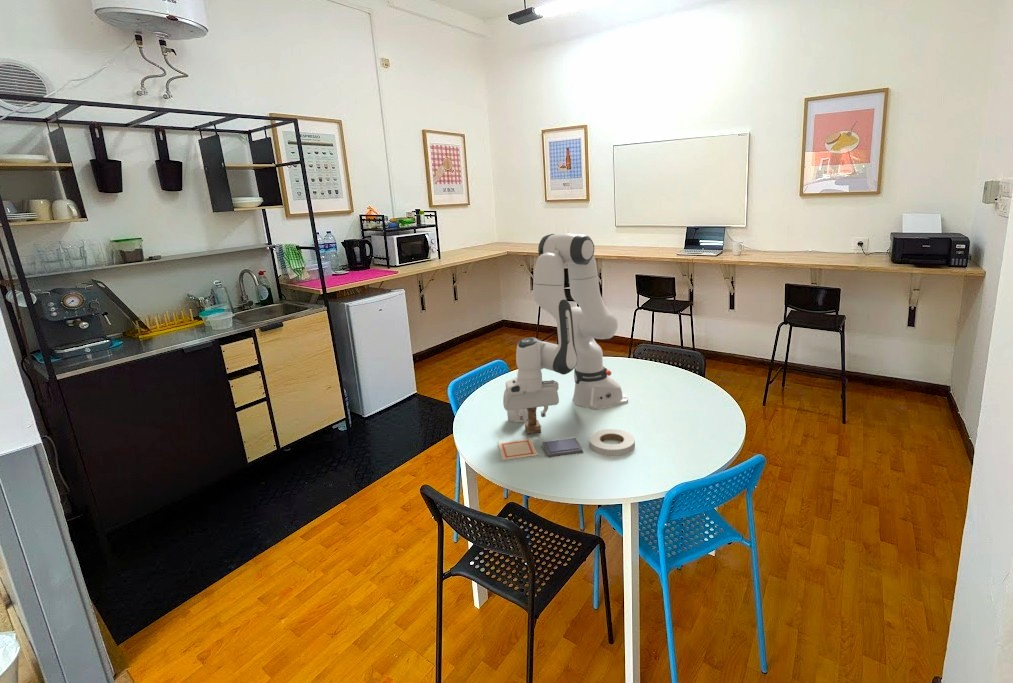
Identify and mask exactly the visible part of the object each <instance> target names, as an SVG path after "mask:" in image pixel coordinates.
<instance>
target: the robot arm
mask: <svg viewBox="0 0 1013 683" xmlns="http://www.w3.org/2000/svg"><path fill="white" fill-rule="evenodd" d="M537 251H538V257H537V259H536V262H535V266H534V272H533V279H532V283H533V284H532V296H533V301H534V302H535V303H536V305H537V306H539V307H540V308H541V309H542V310H544V311H545V312H547V313H548V314H549V315H551V317H552V318H553V319H554V321H555V322H556V326H557V327H556V328H557V329H556V330H557V338H558V339H557V340H558V344H557V343H552V342H548V341H543V340H539V339H538V338H536V337H530V336H529V337H525V338H522V339H521V340H519V341H518V343H517V345H516V355H515V357H516V358H515V359H516V367H517V377H516V376H515V377H514V378H512V379H510V380H507V381H506V382H505V389H504V391H503V401H502V402H503V403H502V405H503V409H504V410H505V411H510V410H515V412H516V413H517V415H518V419H519V420H523V415H522V414H519V409H526V408H535V407H537V408H539V407H540V408H541V407H543V408H542V409H543V410H540V417H541V418H546V416H547V414H546V413H547V412H548V410H549V406H556V405H559V402H560V399H559V398H560V397H559V393H558V390H559V389H560V388H559V382H558V381H555V380H554V379H551V380H543V373H542V370H543V369H545V370H549V371H552V372H555V373H557V374H561V375H567V374H569V373H571V372H572V371H573V370H574V372H573V374H574V375H573V378H574V383H575V384H574V391H573V396H572V402H573V404H574V405H576V406H579V407H583V408H587V409H592V410H600V409H605V408H609V407H613V406H618V405H623V404H627V403H629V398H628V395H627V394H626V393H625V392H624V391H623V390H622V387H621V385H620V383H619V382H618V381H617V380H615V379H614V378H612V377H611V375H612V371H611V370H610V369H608V368H607V367H606V366H604V363H603V362H604V360H603V359H604V358H603V354H604V353H603V349H602V347H601V346H600V345H599V344H598V343H597V342H596V340H595V339H597V340H610V339H612V338H613V337H614V336H615V335H616V333H617V330H618V326H619V324H618V319H617V318H616V316H615V315H614V314H612V312H611V310H609V308H608V307H607V306H606V304H605V302H604V300H603V298H602V294H601V291H600V283H599V273H598V265H597V261H596V257H595V244H594V242H593V239H592V238H591V236H589V235H586V234H583V233H579V234H578V233H569V232H565V233H557V234H555V233H551V234H547V235H544V236H543V237H542V238H541V239H540V240H539V243H538V250H537ZM566 265H567V273H568V284H569V290H570V292H569V293H570V296H571V298H572V300H573V301H574V302H576V304H577V305H578V306H571V304H570V303H569V301H568V299H567V296H566V292H565V267H566Z"/></svg>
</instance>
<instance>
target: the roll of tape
mask: <svg viewBox="0 0 1013 683" xmlns="http://www.w3.org/2000/svg"><path fill="white" fill-rule="evenodd" d="M588 441H589V442H588V443H589V445H588V446H589V449H590V450H591V451H592V452H594V453H595V454H598V455H600V456H603V457H609V458H612V457H613V458H616V457H617V458H618V457H623V456H627V455H629V454H631V453H632V452H634V450H635V448H636V438H635V436H634V435H633V434H631V433H630V432H629V431H626V430H622V429H617V428H603V429H600V430H597V431H594V432H592V433H591V434H590V436H589V438H588ZM606 441H616V442H619V443H616V444H614V443H613V444H611V443H610V444H609V443H606Z"/></svg>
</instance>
